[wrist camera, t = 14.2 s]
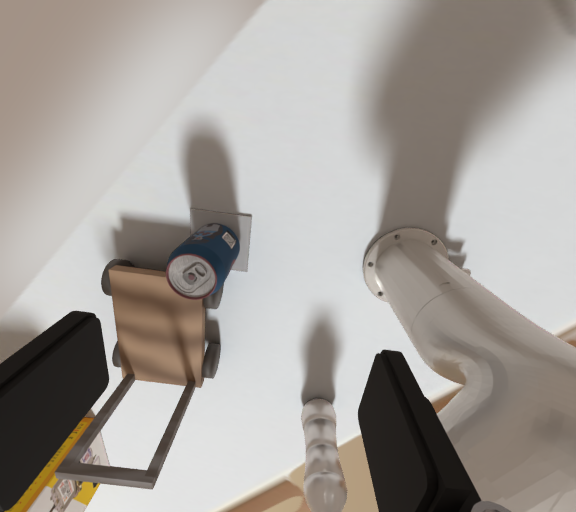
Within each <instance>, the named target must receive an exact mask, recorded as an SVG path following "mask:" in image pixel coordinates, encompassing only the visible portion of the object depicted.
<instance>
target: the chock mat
mask: <svg viewBox="0 0 576 512" xmlns="http://www.w3.org/2000/svg"><path fill="white" fill-rule="evenodd" d="M251 220H252V217H251V216H244V215H236V214H229V213H221V212H214V211H207V210H199V209H192V208H191V209H190V235H191V236H192V235H193V234H194V233H195V232H196V231H197V230H198V229H200V228H201V227H202V226H204V225H207V224H211V223H218V224H222V225H225V226H227V227H228V228H230V229H231V230H232V231H233V232H234V233H235V234H236V236H237V238H238V240H239V243H240V252H239V255H238V257H237V259H236V261H235V263H234V264H233V266H232V268H231V270H236V271H244V272H247V269H248V257H249V245H250V232H251Z"/></svg>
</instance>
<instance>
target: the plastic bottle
mask: <svg viewBox="0 0 576 512" xmlns="http://www.w3.org/2000/svg"><path fill="white" fill-rule="evenodd" d="M301 420H302V426H303V430H304V436H305V445H306V468H305V477H304V496H305V500H306V503H307V505H308V507H309V508H310V510H311V512H342V510H343V508H344V505H345V503H346V499H347V487H346V482H345V479H344V475H343V472H342V468H341V464H340V460H339V455H338V449H337V441H336V413H335V411H334V408H333V406H332V405H331V404H330V403H329V402H328V401H326V400H324V399H312V400H310V401H308V402H307V403H306V404H305V406H304V407H303V409H302V415H301Z"/></svg>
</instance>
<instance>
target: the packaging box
mask: <svg viewBox="0 0 576 512" xmlns="http://www.w3.org/2000/svg"><path fill="white" fill-rule="evenodd" d="M93 419H94V418H87V417H84V418H83V419H82V420H81V421H80V423H79V424H78V425H77V427H76V428H75V429H74V430H73V432H72V433H71V434H70V436H69V437H68V438H67V439H66V441H65V442H64V443H63V444H62V446H61V447H60V448H59V450H58V451H57V452H56V453H55V455H54V456H53V457H52V459H51V460H50V461H49V462H48V464H47V465H46V466H45V467H44V469H43V470H42V471H41V473H40V474H39V475H38V476H37V478H36V479H35V480H34V482H33V483H32V484H31V485H30V487H29V488H28V489H27V490H26V492H25V493H24V494H23V496H22V497H21V498H20V499H19V501H18V502H17V503H16V504H15V505H14V506H13V507H12V508H11V509H9V510H7V511H4V512H84V511H85V509H86V507H87V506H88V504H89V502H90V500H91V499H92V497H93V495H94V494H95V492H96V490H97V488H98V487H99V485H100V483H92V482H83V481H74V480H66V479H57V478H56V476H55V473H54V472H55V470H56V469H57V468H58V466H59V465H60V464H61V462H62V461H63V460H64V458H65V457H66V456H67V454H68V453H69V452H70V450H71V449H72V448H73V446H74V445H75V444H76V442H77V441H78V439H79V438H80V437H81V435H82V434H83V433H84V431H85V430H86V429H87V427H88V426H89V425H90V423H91V422H92V421H93ZM79 463H86V464H95V465H103V466H110V464H109V461H108V457H107V453H106V450H105V446H104V443H103V439H102V435H101V432H99V433H98V435H97V436H96V438H95V439H94V441H93V442H92V444H91V445H90V447H89V448H88V449H87V451H86V452H85V454H84V455H83V457H82V458H81V460H80V461H79Z"/></svg>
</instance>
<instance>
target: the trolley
mask: <svg viewBox="0 0 576 512" xmlns="http://www.w3.org/2000/svg"><path fill="white" fill-rule="evenodd" d="M101 285H102V290H103V292H104V293H105V294H106V295H109V296H112V300H113V308H114V315H115V323H116V331H117V338H118V341H117V343H116V345H115V348H114V351H113V356H112V361H113V365H114V366H115V367H121V369H122V377H123V378H124V379H123V380H122V382H121V383H120V384H119V386H118V387H117V388H116V390H115V391H114V392H113V394H112V395H111V396H110V398H109V399H108V400H107V402H106V403H105V404H104V406H103V407H102V408H101V410H100V411H99V413H98V414H97V415H96V417H95V418H94V419H93V421H92V422H91V423H90V425H89V426H88V427H87V429H86V430H85V431H84V433H83V434H82V435H81V437H80V438H79V439H78V441H77V442H76V444H75V445H74V446H73V448H72V449H71V450H70V452H69V453H68V454H67V456H66V457H65V458H64V460H63V461H62V462H61V464H60V465H59V466H58V468H57V469H56V470H55V472H54V473H55V476H56V478H57V479H66V480H74V481H83V482H92V483H101V484H110V485H119V486H128V487H137V488H145V489H153V488H154V485H155V483H156V481H157V478H158V476H159V473H160V471H161V469H162V466H163V464H164V461H165V459H166V457H167V454H168V452H169V450H170V447H171V445H172V442H173V440H174V438H175V435H176V433H177V430H178V428H179V426H180V423H181V421H182V418H183V416H184V414H185V411H186V409H187V406H188V404H189V402H190V399H191V397H192V395H193V392H194V390H195V387H199V388H201V386H202V384H203V381H204V378H212V379H213V378H214V376H215V374H216V371H217V368H218V364H219V359H220V350H221V347H220V344H214V343H210V344H209V345H208V347H207V350H206V352H205V308H211V309H217V308H218V306H219V304H220V301H221V297H222V293H223V285H224V283H223V285H222V287H221V288H220V289H219V290H218V291H217V292H215V293H214V294H212V295H209V296H207V297H206V298H203V299H200V300H190V299H186V298H183V297H181V296H179V295H178V294H176V293H175V292H174V291H173V290H172V289H171V287H170V286H169V284H168V282H167V279H166V272H165V271H157V270H150V269H142V268H134V267H133V264H132V263H131V262H130V261H127V260H120V259H114V260H112V261H110V262H109V263H108V264H107V266H106V267H105V269H104V271H103V274H102V280H101ZM204 355H205V356H204ZM135 380H141V381H149V382H158V383H166V384H174V385H182V386H186V387H185V389H184V391H183V394H182V396H181V398H180V400H179V402H178V404H177V407H176V409H175V411H174V413H173V415H172V418H171V420H170V422H169V424H168V426H167V428H166V431H165V433H164V435H163V437H162V439H161V441H160V444H159V446H158V448H157V450H156V452H155V454H154V457H153V459H152V461H151V463H150V465H149V467H148V470H138V469H130V468H121V467H112V466H103V465H95V464H86V463H79V461H80V460H81V458H82V457H83V455H84V454H85V452H86V451H87V449H88V448H89V447H90V445H91V444H92V442H93V441H94V439H95V438H96V436H97V435H98V433H99V432H100V431H101V429H102V428H103V426H104V425H105V423H106V422H107V420H108V419H109V417H110V416H111V415H112V413H113V412H114V410H115V409H116V407H117V406H118V404H119V403H120V401H121V400H122V399H123V397H124V396H125V394H126V393H127V391H128V390H129V388H130V387H131V385H132V384H133V383H134V381H135Z"/></svg>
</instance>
